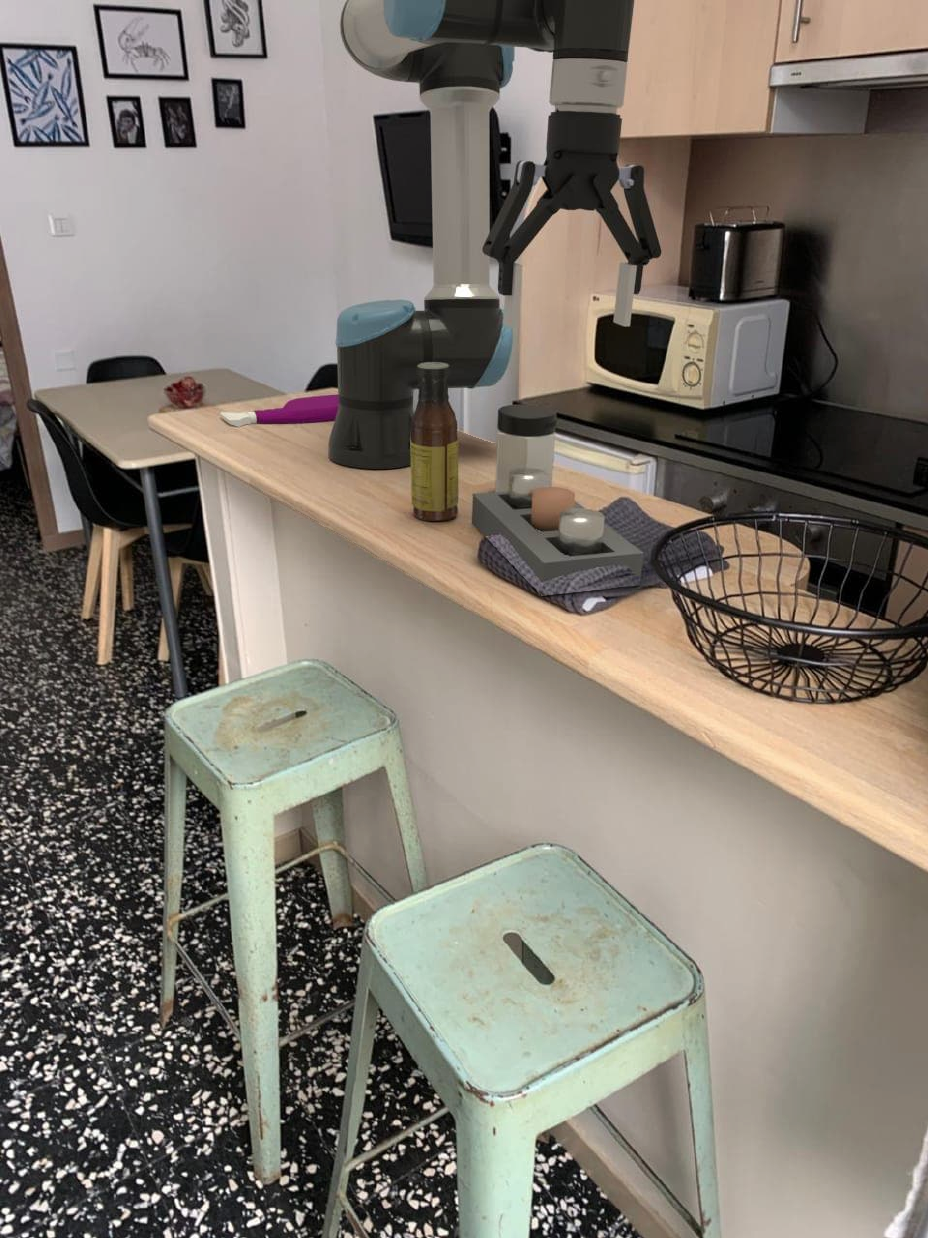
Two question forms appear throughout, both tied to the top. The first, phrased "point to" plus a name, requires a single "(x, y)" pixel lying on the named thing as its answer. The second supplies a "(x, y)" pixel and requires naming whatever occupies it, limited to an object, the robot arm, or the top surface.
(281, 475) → the top surface
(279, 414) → the spray bottle
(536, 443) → the jar
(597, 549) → the knob
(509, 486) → the knob
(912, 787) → the top surface
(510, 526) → the knob mount
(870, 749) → the top surface
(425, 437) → the sauce bottle
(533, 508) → the middle knob
